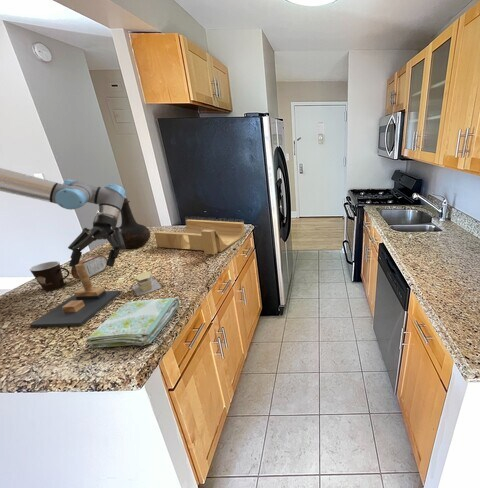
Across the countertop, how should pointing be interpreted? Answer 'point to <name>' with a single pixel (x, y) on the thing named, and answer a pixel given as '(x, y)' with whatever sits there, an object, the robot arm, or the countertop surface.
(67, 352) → the countertop surface
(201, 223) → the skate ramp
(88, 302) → the serving tray
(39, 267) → the coffee mug
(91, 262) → the tin
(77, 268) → the scrub brush
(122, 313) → the towel
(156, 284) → the stacked layers on plate
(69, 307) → the wooden square block
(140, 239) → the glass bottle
